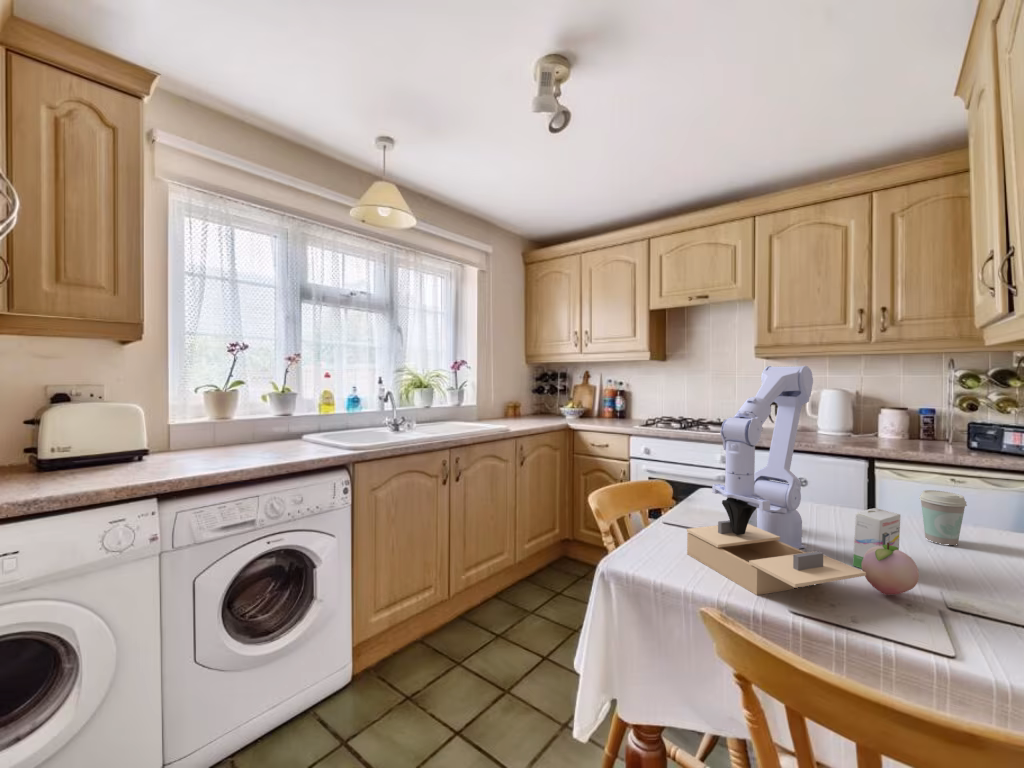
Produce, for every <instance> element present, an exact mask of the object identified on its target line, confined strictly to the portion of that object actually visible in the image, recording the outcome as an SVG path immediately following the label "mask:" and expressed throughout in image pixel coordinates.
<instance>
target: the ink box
mask: <svg viewBox="0 0 1024 768" xmlns="http://www.w3.org/2000/svg"><path fill="white" fill-rule="evenodd" d="M854 519H855V521H854V522H855V523H854V540H853V543H854V544H853V558H852V567H855V568H856V567H857V568H858V569H862V566H861V563H862V560H863V558H864V555H865V553H866V552H867V551H868V550H869V549H870V548H872V547H876V546H882V545H887V542H888V543H889V545H891V546H895V547H897V548H898V550H899V551H900V534H901V533H900V532H901V513H895V512H892V511H889V510H886V509H885V510H884V509H880V508H878V507H877V508H876V507H873V508H869V509H865V510H861V511H857V512H856V513H855V518H854Z"/></svg>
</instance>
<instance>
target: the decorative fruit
mask: <svg viewBox="0 0 1024 768" xmlns="http://www.w3.org/2000/svg"><path fill="white" fill-rule="evenodd" d="M861 566H862V568H861V571H864V572H866V576H864V577H865V579H866V582H868V583H869V584H870V585H871V586H872V587H873V588H874V589H876V591H878V592H879V593H881V594H883V595H885V596H889V595H890V596H891V595H900V594H903V593H907V592H909V591H911V590H912V589H914V588H915V587H916V586H917V584H918V582H919V580H920V573H919V572H920V571H919V568H918V565H917V563H916V562H915V561H914V559H913V558H912V557H911V556H910V555H908V554H907V553H906V552H904V551H902V550H900V549H899V550H898V548H897V547H895V546H891V545H889V543H888V542H887V545H882V546H876V547H872V548H870V549H869V550H868V551H867V552H866V553H865V555H864V558H863V560H862V563H861Z"/></svg>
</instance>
